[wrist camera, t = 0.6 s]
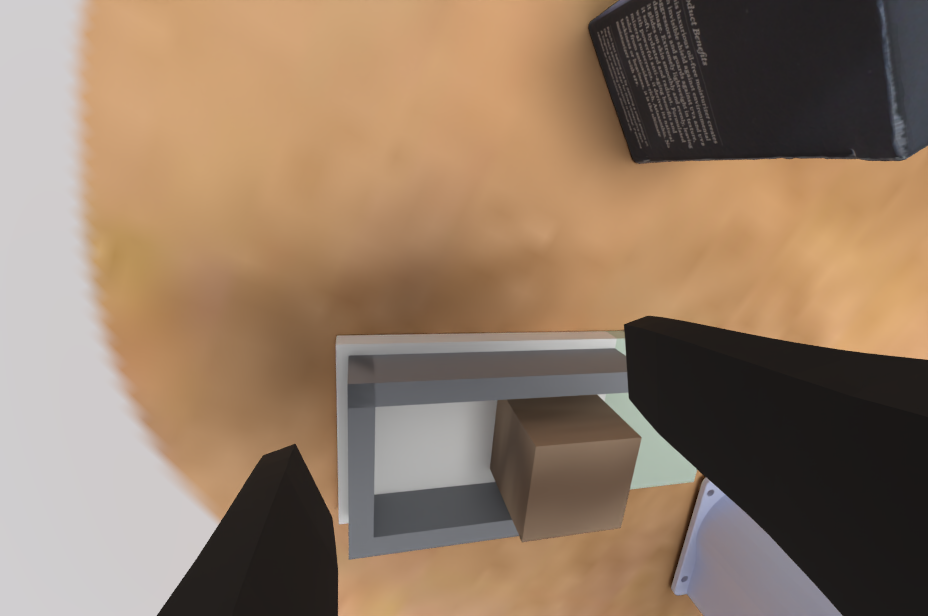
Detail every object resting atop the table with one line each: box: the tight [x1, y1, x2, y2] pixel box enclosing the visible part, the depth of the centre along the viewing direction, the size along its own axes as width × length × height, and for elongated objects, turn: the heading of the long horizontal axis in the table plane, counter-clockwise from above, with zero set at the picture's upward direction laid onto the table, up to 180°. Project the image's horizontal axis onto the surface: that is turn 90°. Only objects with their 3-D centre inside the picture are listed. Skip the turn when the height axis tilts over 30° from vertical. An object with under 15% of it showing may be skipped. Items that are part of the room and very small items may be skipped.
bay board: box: [336, 331, 697, 560], centre depth 21 cm, size 9×20×4 cm, turn 86°
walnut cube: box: [490, 394, 642, 542], centre depth 19 cm, size 4×4×4 cm
